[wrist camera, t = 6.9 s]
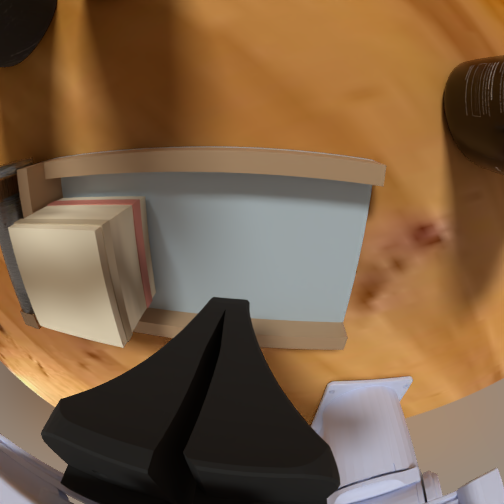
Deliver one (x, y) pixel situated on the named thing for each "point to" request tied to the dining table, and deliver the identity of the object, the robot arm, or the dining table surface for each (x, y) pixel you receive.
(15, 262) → the winch
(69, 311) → the red striped cream box
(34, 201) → the bay
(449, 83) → the supplement bottle
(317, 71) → the dining table surface
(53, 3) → the travel mug
